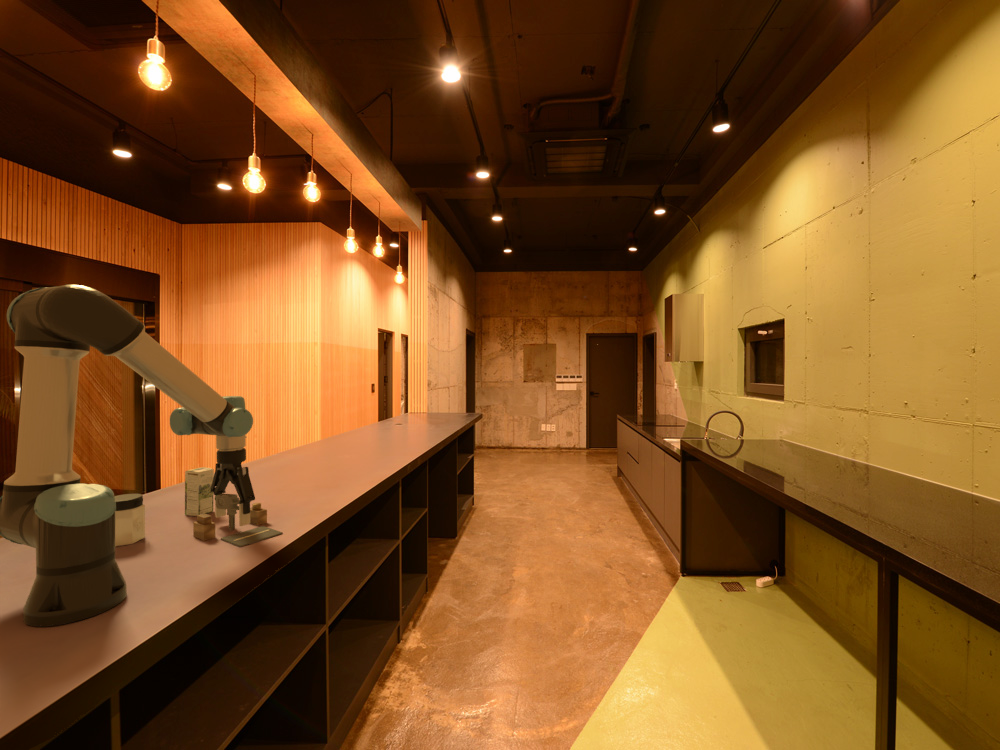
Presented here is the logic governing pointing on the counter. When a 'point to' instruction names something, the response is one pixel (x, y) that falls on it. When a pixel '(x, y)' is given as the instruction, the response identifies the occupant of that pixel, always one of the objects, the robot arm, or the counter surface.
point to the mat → (251, 536)
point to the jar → (129, 519)
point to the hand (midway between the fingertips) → (232, 520)
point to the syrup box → (198, 491)
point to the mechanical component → (228, 506)
